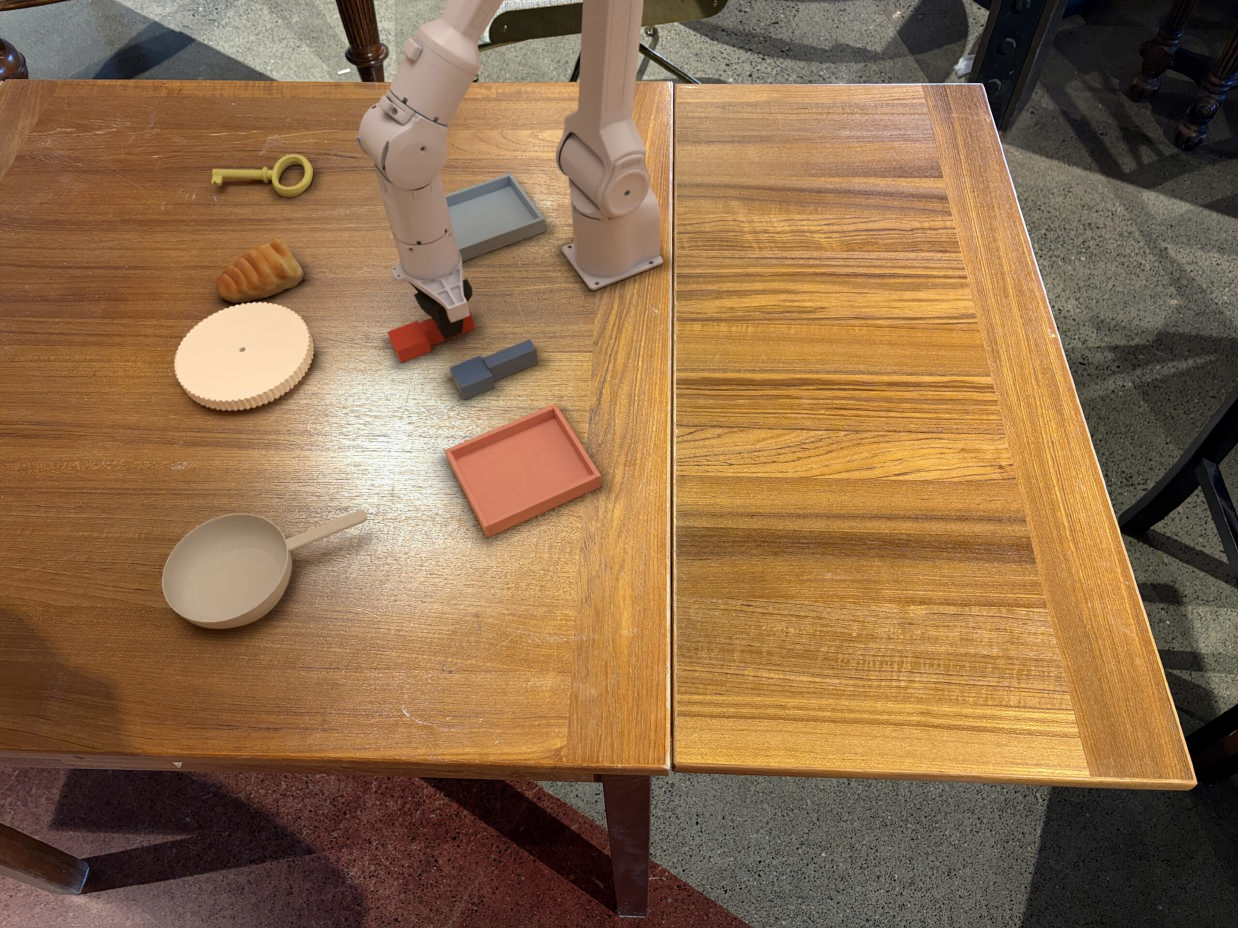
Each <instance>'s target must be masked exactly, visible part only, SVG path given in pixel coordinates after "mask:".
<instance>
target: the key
mask: <svg viewBox="0 0 1238 928" xmlns="http://www.w3.org/2000/svg"><path fill="white" fill-rule="evenodd" d="M295 165H299V166H302V167H303V170H304V176H303V178H302V179H301V181H300V182H298V183H297V184H295V185H293V186H284V185H282V184H280V177H281V176H282V173H283V172H284V170H285V169H286V168H288V167H290V166H295ZM211 175H212V178H211V181H210V185H211V186H213V187H214V186H215V185H216V186H218V187H221V186H222V185H223V182H224V181H223V180H250V181H252V180H253V181H255V180H256V181H263V182H264V183H265V184H268V183H269V182H270V181H271V184H272V186H273V188H274V190H275V192H276V193H277V194H278V195H279V196H281V197H285V198H294V197H298V196H300V195H302V194H303V193H304V192H305V191H306V190H307V189H308V188H309V186H310V185H311V184H312V183H311V182H312V180H313V176H314V168H313V166H312V164H311V163H310V161H309V160H308V159H307V157H305V156H304V155H301V154H296V153H295V154H294V153H291V154H287V155H284V156H282V157H281V158H280V159H278V160H277V161H276V162H275V164H274V166H273V168H272V169H269V167H267V166H263V167H262V169H237V168H236V169H235V168H232V169H229V168H227V169H226V168H212V169H211Z"/></svg>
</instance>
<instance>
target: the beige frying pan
mask: <svg viewBox="0 0 1238 928" xmlns="http://www.w3.org/2000/svg"><path fill="white" fill-rule="evenodd" d="M367 519H368V514H367V512H366V510H364V509H359V510H356V511H354V512H351V513H348V514H347V515H344V516H341V517H339V518H336V519H334V520H331V521H329V522H326V523H324V524H321V525H319V526H316V527H314V528H311V529H309V530H306V531H303V532H301V533H298V534H296V535H294V536H291V537H288V538H286V537H285V534H283V532H282V530H281V529H280V528H279V527H278V526H277V525H276V524H275V523H274V522H272V521H270V520H269V519H267V518H266V517H263V516H260V515H257V514H251V513H239V512H238V513H229V514H225V515H221V516H217V517H214V518H212V519H210V520H207V521H205V522H202V523H201V524H200V525H198V526H196V527H195V528H193V529H192V530H191V531H189V532H188V533H187V534H185V536H183V538H181V539H180V541H179V542H178V543H176V545H175V546H174V548H173V549H172V550H171V552H170V554H169V556H168V558H167V559H166V562H165V565H164V567H163V572H162V575H161V576H162V577H161V588H162V592H163V596H164V598H165V600H166V602H167V604H168V605H169V606H170V608H172V609H173V611H174V612H175V613H177V614H178V615H179V616H180V617H181V618H184V619H185V620H186V621H188V622H190V623H191V624H194V625H195V626H198V627H200V628H207V629H210V630H211V629H213V630H215V629H216V630H217V629H219V630H220V629H221V630H225V629H233V628H237V627H243V626H247V625H249V624H252V623H254V622H256V621H258V620H260V619H261V618H263V617H264V616H266V615H267V614H268V613H269V612H270V611H272V610H273V609H274V607H275V606H276V605H277V604H278V603H279V601H280V600H281V599H282V597H283V595H284V593H285V591H286V590H287V587H288V585H289V582H290V579H291V575H292V571H293V557H292V553H291V552H293V551H295V550H298V549H300V548H303V547H306V546H308V545H310V544H313V543H315V542H318V541H321V540H322V539H323V540H324V539H325V538H328V537H330V536H333V535H336V534H338V533H341V532H343V531H345V530H348V529H350V528H353V527H356V526H358V525H361V524H363V523H365V522H366V521H367Z"/></svg>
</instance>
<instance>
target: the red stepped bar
mask: <svg viewBox="0 0 1238 928" xmlns="http://www.w3.org/2000/svg"><path fill="white" fill-rule="evenodd" d="M469 313H470V316H468V317H465V318H464V322H463V330H462V333H461V334H459V335H456V336H453V337H451V338H448V339H444V338H443V336H442V335H441V333H440V331H439V330H438V328H437V326H436V324H435V322H434V320H433V319H432V317H430V318H427V319H425V320H422V321H419V320H415V321H412V322H409V323H407V324H404V325H402V326H399V327H396V328H393V329H391V330H388V331H387V335H388V339H389V341H390V345H391V346H392V349H393V350H394V352H395V354H396V356H397V358H398V360H399V362H400V363H401V364H403V363H407V362H408V361H411V360H414V359H416V358H419V357H421V356H424V355H426V354H429V353H431V352H432V348H431V347H432V346H434V345H437V344H440V343H442V342H445V341H448V340H450V339H453V338H455V337H458V336H461V335H464V334H466V333H468V332H471V331H473V330H475V329H476V327H475V322H474V318H473V314H472V312H471V311H470V309H469Z"/></svg>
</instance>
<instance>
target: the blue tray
mask: <svg viewBox="0 0 1238 928" xmlns="http://www.w3.org/2000/svg"><path fill="white" fill-rule="evenodd" d="M523 188H524V187H522V186H521V184H520V182H519V181H518V180H517V178H516V177H515V176H514V174H513V173H512V172H508V173H506V174H503V175H500V176H497V177H494V178H491V179H487V180H485V181H482V182H478V183H476V184H473V185H470V186H467V187H464V188H461V189H458V190H456V191H452V192H450V193H447V194H445V196H446V200H447V205H448V209H449V214H450V218H451V222H452V227H453V232H454V236H455V241H456V245H457V249H458V250H459V252H460V254H461V258H462V263H463V262H464V261H468V260H470V259H474V258H477V257H479V256H481V255H485V254H487V253H489V252H492V251H496V250H498V249H501V248H504V247H506V246H509V245H512V244H515V243H518V242H520V241H523V240H525V239H529V238H532V237H534V236H537V235H540V234H543V233H545V232H547V225H546V218H545V217H544V216H543V215H542V213H541V211H540V210H539V209H538V207H537V206H536V205H535V203H534V202H533V200H532V199H531V198H530V196H529V195H528V194H527V193H526V191H525V190H524V189H523Z"/></svg>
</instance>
